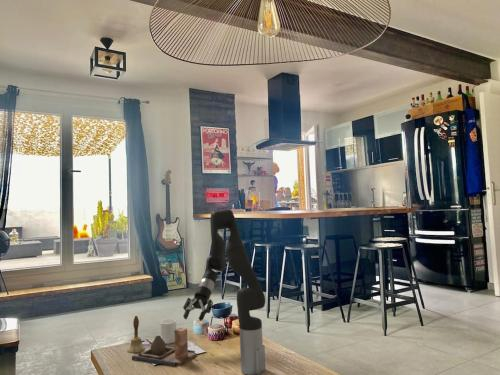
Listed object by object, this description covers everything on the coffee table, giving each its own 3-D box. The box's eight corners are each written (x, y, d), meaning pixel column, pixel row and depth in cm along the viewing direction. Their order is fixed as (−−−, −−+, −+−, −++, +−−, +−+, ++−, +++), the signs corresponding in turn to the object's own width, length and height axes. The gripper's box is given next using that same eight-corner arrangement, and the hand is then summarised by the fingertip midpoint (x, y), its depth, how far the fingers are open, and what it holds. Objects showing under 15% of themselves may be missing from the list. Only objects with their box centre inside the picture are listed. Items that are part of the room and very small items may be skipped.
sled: (196, 355, 173) (195, 326, 174) (181, 365, 162) (180, 334, 163) (156, 349, 183) (156, 322, 183) (139, 358, 172) (138, 329, 173)
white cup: (158, 343, 192) (157, 323, 192) (165, 338, 199) (165, 319, 200) (171, 344, 189) (171, 324, 190) (179, 339, 197) (178, 319, 198)
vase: (162, 359, 170) (161, 339, 171) (148, 358, 172) (147, 338, 172) (168, 353, 177) (168, 334, 178) (154, 353, 179) (154, 334, 179)
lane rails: (194, 354, 175) (194, 350, 175) (175, 366, 161) (174, 362, 161) (153, 348, 185) (153, 345, 185) (131, 359, 172) (131, 356, 172)
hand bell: (133, 346, 189) (132, 313, 190) (148, 347, 187) (147, 314, 188) (123, 352, 181) (123, 318, 182) (139, 353, 179) (138, 319, 180)
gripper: (189, 284, 190) (176, 313, 179) (214, 285, 184) (201, 316, 173) (196, 293, 195) (183, 322, 184) (220, 294, 189) (208, 324, 177)
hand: (192, 319), depth 178 cm, fingers open, 8 cm apart
